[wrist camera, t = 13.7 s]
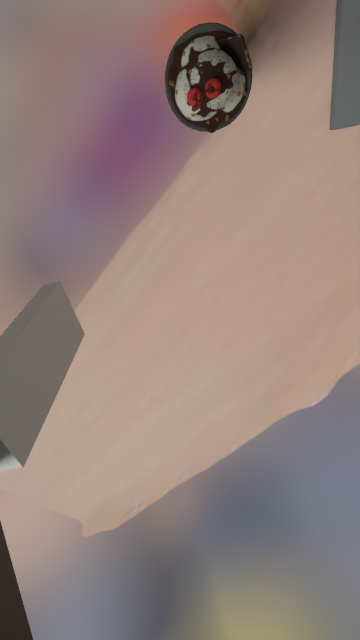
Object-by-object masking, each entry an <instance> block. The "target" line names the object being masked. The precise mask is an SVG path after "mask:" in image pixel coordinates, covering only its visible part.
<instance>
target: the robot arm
mask: <svg viewBox="0 0 360 640" xmlns="http://www.w3.org/2000/svg"><path fill="white" fill-rule="evenodd" d="M83 337H84V332H83V329H82V327H81V325H80V323H79V321H78V318H77V316H76V314H75V312H74V310H73V308H72V305H71V303H70V301H69V299H68V297H67V295H66V292H65V291H64V288H63V286H62V284H61V282H55V283H50V284H45V285H43V286H42V287H41V288H40V290H39V291H38V292H37V293H36V295H35V296H34V297H33V298H32V299H31V300H30V302H29V303H28V304H27V305H26V306H25V308H24V309H23V310H22V311H21V312H20V313H19V315H18V316H17V317H16V318H15V319H14V321H13V322H12V323H11V324H10V325H9V327H8V328H7V329H6V330H5V331H4V333H3V334H2V335H1V336H0V470H6V469H15V468H23V467H24V465H25V462H26V460H27V458H28V456H29V454H30V452H31V449H32V447H33V445H34V443H35V441H36V439H37V436H38V434H39V432H40V430H41V428H42V426H43V423H44V421H45V419H46V417H47V415H48V413H49V410H50V408H51V406H52V404H53V402H54V400H55V397H56V395H57V393H58V391H59V389H60V387H61V384H62V382H63V380H64V378H65V376H66V373H67V371H68V369H69V367H70V365H71V363H72V360H73V358H74V356H75V354H76V352H77V350H78V347H79V345H80V343H81V341H82V339H83ZM0 640H33V638H32V634H31V630H30V627H29V623H28V619H27V616H26V612H25V609H24V605H23V601H22V598H21V594H20V591H19V587H18V584H17V580H16V576H15V573H14V569H13V565H12V562H11V558H10V555H9V551H8V547H7V544H6V540H5V536H4V533H3V530H2V526H1V522H0Z"/></svg>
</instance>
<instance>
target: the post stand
mask: <svg viewBox="0 0 360 640" xmlns="http://www.w3.org/2000/svg"><path fill="white" fill-rule="evenodd" d="M356 125H360V0H337V9H336V26H335V44H334V62H333V79H332V97H331V114H330V130H337V129H341V128H346V127H351V126H356Z"/></svg>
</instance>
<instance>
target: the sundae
mask: <svg viewBox="0 0 360 640" xmlns="http://www.w3.org/2000/svg"><path fill="white" fill-rule="evenodd" d="M251 84H252V64H251V59H250V55H249V52H248V49H247V47H246V44H245V40H244V37H243V36H242V35H241V34H239V35H237V34H236V33H235V32H234V31H233V30H232V29H230V28H228V27H227V26H224V25H222V24H219V23H205V24H199V25H197V26H195V27H193V28H191V29H189V30H188V31H187V32H185V33H184V34H183V35H182V36H181V37H180V38H179V39H178V41H177V42H176V43H175V45H174V46H173V48H172V50H171V52H170V54H169V58H168V61H167V66H166V71H165V85H166V95H167V98H168V101H169V104H170V106H171V109H172V111H173V112H174V114H175V115H176V117H177V118H178V119H179V120H180V121H181V122H182V123H183V124H185V125H186V126H188V127H190V128H192V129H195V130H198V131H208V132H210V133H213V132H215V131H216V130H219V129H221V128H223V127H225V126H227V125H229V124H230V123H231V122H232V121H234V120H235V119H236V118H237V116H238V115H239V114H240V113H241V111H242V110H243V108H244V106H245V104H246V102H247V99H248V97H249V93H250V90H251Z"/></svg>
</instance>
